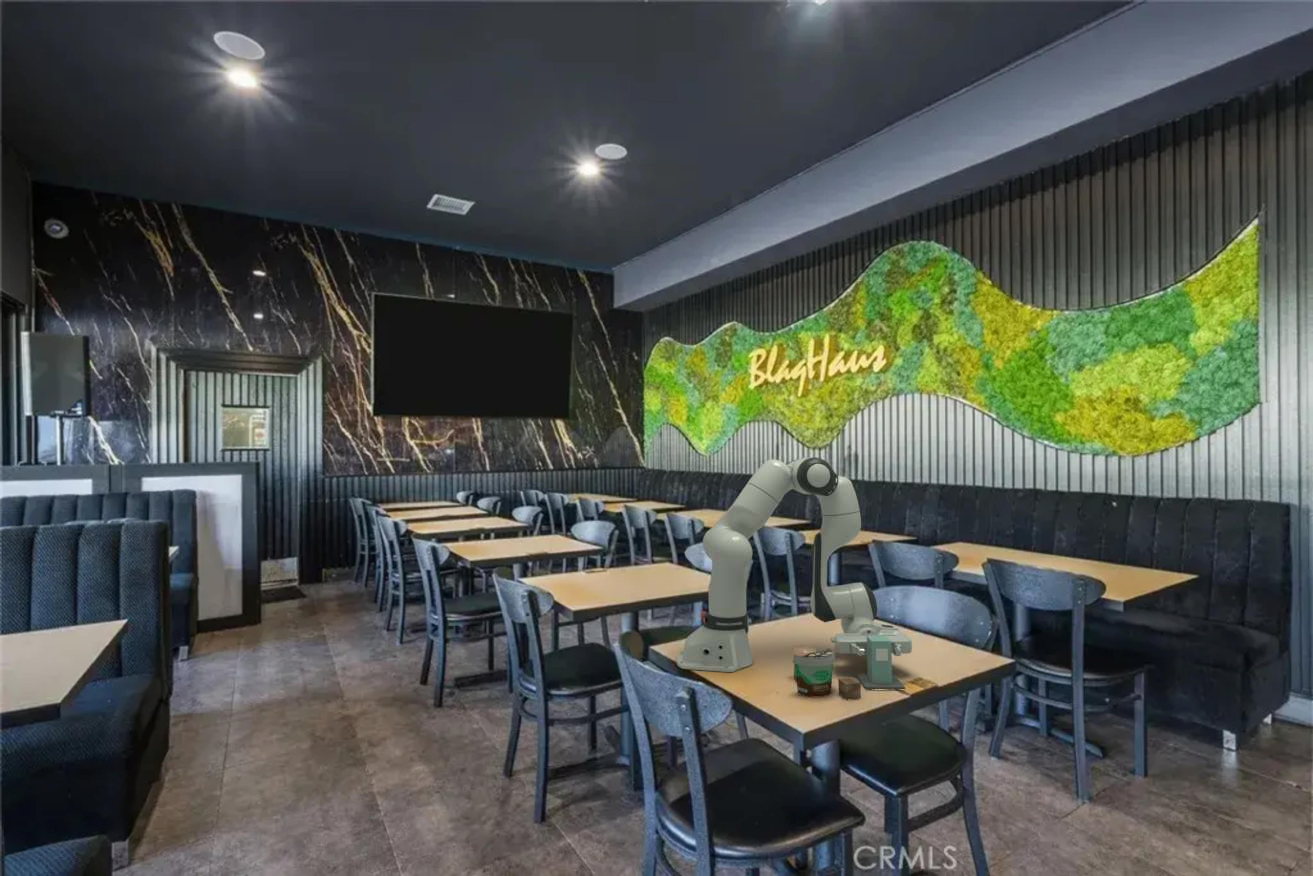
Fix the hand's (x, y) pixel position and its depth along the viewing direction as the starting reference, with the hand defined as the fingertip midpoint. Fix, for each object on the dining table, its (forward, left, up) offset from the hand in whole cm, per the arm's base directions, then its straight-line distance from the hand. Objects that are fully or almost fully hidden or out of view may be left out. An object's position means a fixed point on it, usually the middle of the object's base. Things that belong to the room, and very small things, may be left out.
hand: (879, 653), depth 171 cm
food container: (-17, -6, -8) cm, 20 cm away
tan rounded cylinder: (-19, +4, -8) cm, 21 cm away
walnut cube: (-10, -8, -8) cm, 15 cm away
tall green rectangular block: (0, +1, -7) cm, 7 cm away
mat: (0, +1, -8) cm, 8 cm away
